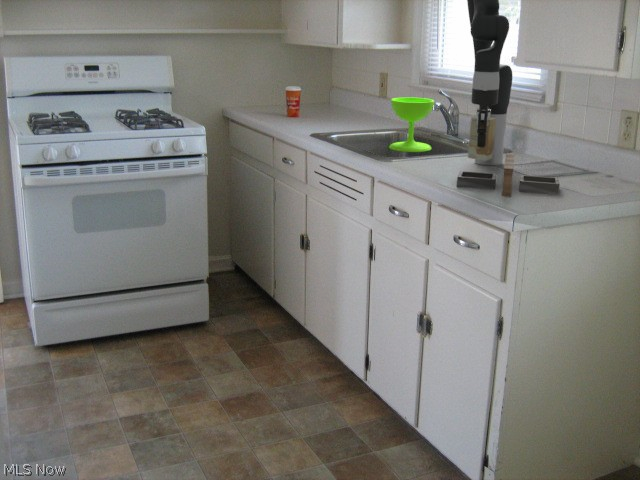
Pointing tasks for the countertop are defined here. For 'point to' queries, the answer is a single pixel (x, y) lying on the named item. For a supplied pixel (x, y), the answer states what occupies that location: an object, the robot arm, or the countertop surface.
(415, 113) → the wineglass
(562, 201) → the countertop surface
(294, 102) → the paper cup
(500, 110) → the robot arm
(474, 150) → the skincare box
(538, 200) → the countertop surface
